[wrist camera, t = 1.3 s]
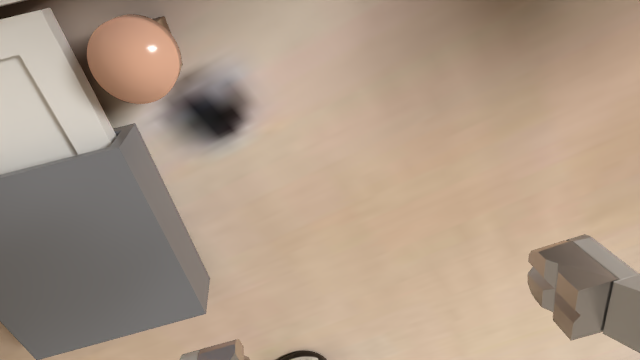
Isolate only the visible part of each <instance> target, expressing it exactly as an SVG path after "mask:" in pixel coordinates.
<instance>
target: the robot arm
mask: <svg viewBox="0 0 640 360" xmlns="http://www.w3.org/2000/svg"><path fill="white" fill-rule="evenodd" d="M528 262H529V263H530V264H531V265H532V266H533V267H532V269H531V270H530V271H529V273H528V285H529V288H530V291H531V293H532V295H533V296H534V298H535V300H536V301H537V302H538V303H539V305H540V306H541V307H543V308H545V309H547V310H550V311H552V312H553V321H554V322H555V323H556V324H557V325H558V326H559V328H560V329H561V330H562V331H563V332H564V333H565V334H566V335H567V337H568V338H569V339H570V340H575V339H578V338H582V337H585V336H589V335H593V334H596V333H600V332H603V334H605V335H607V336H609V337H610V338H612V339H614V340H616V341H618V342H620V343H622V344H624V345H626V346H628V347H629V348H631V349H633V350H635V351H637V352H639V353H640V274H639V273H637V272H636V271H635V270H634V269H632V268H631V267H630V266H628V265H627V264H626V263H625V262H623V261H622V260H621V259H619V258H618V257H617V256H615V255H614V254H613V253H612V252H610V251H609V250H608V249H606V248H605V247H604V246H603V245H601V244H600V243H599V242H597V241H596V240H595V239H593V238H592V237H591V236H588V235H581V236H578V237H575V238H571V239H568V240H566V241H561V242H558V243H554V244H551V245H548V246H545V247H542V248H539V249H535V250H532V251H531V252H530V254H529V261H528ZM180 360H250V359H249V357H246V356H244V347H243V345H242V343H241V342H240V340H239V339H237V340H233V341H229V342H225V343H222V344H218V345H214V346H211V347H207V348H203V349H200V350H197V351H193V352H190V353H186V354H183V355H182V356H181V358H180Z"/></svg>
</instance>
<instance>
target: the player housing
mask: <svg viewBox="0 0 640 360" xmlns="http://www.w3.org/2000/svg"><path fill="white" fill-rule="evenodd" d="M113 130H114V132H115V134H116V136H117V137H116V139H115V140H114V141H113V143H112V144H111V145H110V147H107V148H103V149H99V150H95V151H91V152H87V153H83V154H79V155H75V156H71V157H67V158H63V159H60V160H56V161H52V162H48V163H44V164H40V165H36V166H32V167H28V168H24V169H20V170H16V171H13V172H9V173H5V174H1V175H0V322H1V323H2V324H3V325H4V326H5V327H6V328H7V329H8V330H9V331H10V332H11V333H12V334H13V336H14V337H15V338H16V339H17V340H18V341H19V342H20V343H21V344H22V345H23V346H24V347H25V348H26V349H27V351H28V352H29V353H30V354H31V355H32V356H33V357H34V358H35V359H36V360H40V359H43V358H47V357H51V356H54V355H58V354H62V353H65V352H69V351H72V350H76V349H80V348H83V347H87V346H91V345H94V344H98V343H102V342H105V341H109V340H112V339H116V338H120V337H123V336H127V335H131V334H134V333H138V332H142V331H145V330H149V329H152V328H156V327H160V326H163V325H167V324H171V323H174V322H178V321H182V320H185V319H189V318H192V317H196V316H200V315H203V314H206V309H207V300H208V290H209V281H210V277H209V275H208V273H207V271H206V269H205V267H204V265H203V263H202V261H201V259H200V257H199V255H198V253H197V250H196V248H195V246H194V244H193V242H192V240H191V238H190V236H189V234H188V232H187V230H186V228H185V226H184V224H183V221H182V219H181V217H180V215H179V213H178V211H177V209H176V207H175V205H174V203H173V201H172V199H171V197H170V194H169V192H168V190H167V188H166V186H165V184H164V182H163V180H162V178H161V176H160V174H159V172H158V170H157V168H156V165H155V163H154V161H153V159H152V157H151V155H150V153H149V151H148V149H147V147H146V145H145V143H144V141H143V139H142V136H141V134H140V132H139V130H138V128H137V126H136V124H135V123H134V124H131V125H127V126H123V127H119V128H115V129H113Z"/></svg>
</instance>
